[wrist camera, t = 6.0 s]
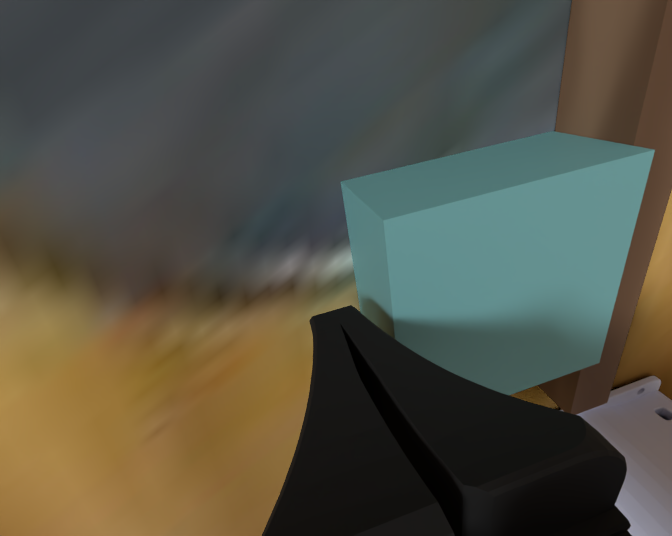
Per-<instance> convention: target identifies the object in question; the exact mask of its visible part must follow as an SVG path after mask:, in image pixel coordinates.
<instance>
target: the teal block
mask: <svg viewBox="0 0 672 536" xmlns="http://www.w3.org/2000/svg"><path fill="white" fill-rule="evenodd" d="M654 152H655V150H654V149H648V148H643V147H637V146H632V145H626V144H621V143H615V142H610V141H604V140H599V139H593V138H588V137H582V136H577V135H572V134H566V133H561V132H555V131H551V132H547V133H543V134H539V135H535V136H530V137H526V138H522V139H518V140H514V141H509V142H505V143H501V144H497V145H493V146H488V147H484V148H480V149H476V150H472V151H467V152H463V153H459V154H455V155H451V156H446V157H442V158H438V159H434V160H430V161H425V162H421V163H417V164H413V165H409V166H404V167H400V168H396V169H392V170H388V171H383V172H379V173H375V174H371V175H367V176H362V177H358V178H354V179H350V180H346V181H341V186H342V193H343V200H344V206H345V213H346V219H347V226H348V233H349V239H350V246H351V252H352V259H353V266H354V272H355V279H356V285H357V292H358V299H359V305H360V312H361V313H362V314H363V315H364V316H365V317H366V318H368V319H369V320H370V321H371V322H373V323H374V324H375V325H376V326H378V327H379V328H380V329H382V330H383V331H384V332H386V333H387V334H389V335H390V336H391V337H393V338H394V339H396V340H397V341H398V342H400V343H401V344H403V345H404V346H406V347H407V348H409V349H411V350H412V351H414V352H415V353H417V354H419V355H420V356H422V357H424V358H425V359H427V360H429V361H431V362H432V363H434V364H436V365H438V366H440V367H442V368H444V369H446V370H448V371H450V372H452V373H454V374H456V375H458V376H460V377H463V378H465V379H467V380H470V381H472V382H475V383H477V384H479V385H482V386H484V387H487V388H489V389H492V390H495V391H497V392H500V393H503V394H506V395H511V394H514V393H517V392H520V391H522V390H525V389H528V388H531V387H534V386H536V385H539V384H542V383H545V382H547V381H550V380H553V379H556V378H559V377H561V376H564V375H567V374H570V373H573V372H575V371H578V370H581V369H584V368H586V367H589V366H592V365H595V364H598V363H599V362H600V358H601V354H602V351H603V347H604V343H605V339H606V335H607V331H608V328H609V324H610V320H611V316H612V312H613V309H614V305H615V301H616V297H617V293H618V289H619V286H620V282H621V278H622V274H623V270H624V267H625V263H626V259H627V255H628V251H629V248H630V244H631V240H632V236H633V232H634V228H635V225H636V221H637V217H638V213H639V209H640V206H641V202H642V198H643V194H644V190H645V186H646V183H647V179H648V175H649V171H650V167H651V164H652V160H653V156H654Z"/></svg>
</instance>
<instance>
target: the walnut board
mask: <svg viewBox="0 0 672 536" xmlns="http://www.w3.org/2000/svg"><path fill="white" fill-rule="evenodd" d="M555 132H561V133H566V134H572V135H577V136H582V137H588V138H593V139H599V140H604V141H610V142H615V143H621V144H626V145H632V146H637V147H643V148H648V149H654V150H655V152H654V156H653V160H652V164H651V167H650V171H649V175H648V179H647V183H646V186H645V190H644V194H643V198H642V202H641V206H640V209H639V213H638V217H637V221H636V225H635V228H634V232H633V236H632V240H631V244H630V248H629V251H628V255H627V259H626V263H625V267H624V270H623V274H622V278H621V282H620V286H619V289H618V293H617V297H616V301H615V305H614V309H613V312H612V316H611V320H610V324H609V328H608V331H607V335H606V339H605V343H604V347H603V351H602V354H601V358H600V362H599V363H598V364H595V365H592V366H589V367H586V368H584V369H581V370H578V371H575V372H573V373H570V374H567V375H564V376H561V377H559V378H556V379H553V380H550V381H547V382H545V383H542V384H539V385H538V386H539V387H540V388H541V389H542V390H543V391H544V392H545V393H546V394H547V395H548V396H549V397H550V398H551V399H552V400H553V401H554V402H555V403H556V404H557V405H558V406H559V407H560V408H561V409H562V410H563V411H564V412H567V413H571V414H575V415H577V414H579V413H582V412H584V411H587V410H590V409H592V408H595V407H598V406H600V405H603V404H605V403H607V402H608V399H609V395H610V392H611V389H612V385H613V382H614V379H615V375H616V372H617V369H618V366H619V362H620V359H621V356H622V352H623V349H624V346H625V342H626V339H627V336H628V332H629V329H630V326H631V322H632V319H633V316H634V312H635V309H636V306H637V303H638V299H639V296H640V293H641V289H642V286H643V283H644V279H645V276H646V273H647V269H648V266H649V263H650V259H651V256H652V253H653V250H654V246H655V243H656V240H657V236H658V233H659V230H660V226H661V223H662V220H663V216H664V213H665V210H666V206H667V203H668V200H669V196H670V193H671V190H672V0H572V4H571V12H570V20H569V27H568V35H567V43H566V50H565V58H564V65H563V73H562V81H561V88H560V96H559V104H558V111H557V119H556V126H555Z"/></svg>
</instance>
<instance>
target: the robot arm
mask: <svg viewBox="0 0 672 536" xmlns="http://www.w3.org/2000/svg"><path fill="white" fill-rule="evenodd" d="M310 324H311V329H312V333H313V368H312V377H311V385H310V392H309V398H308V403H307V408H306V413H305V417H304V422H303V425H302V429H301V433H300V437H299V440H298V444H297V447H296V450H295V454H294V457H293V459H292V462H291V465H290V468H289V471H288V473H287V476H286V479H285V482H284V485H283V487H282V490H281V492H280V495H279V497H278V500H277V502H276V504H275V507H274V509H273V511H272V513H271V516H270V518H269V520H268V523H267V525H266V527H265V530H264V532H263V534H262V536H672V400H671V399H669V398H668V397H666V396H665V395H664V394H662V393H661V392H660V391H658V390H659V387H660V385H661V380H660V379H659V378H657V377H656V376H649V377H647V378H644V379H641V380H639V381H636V382H633V383H631V384H628V385H625V386H623V387H620V388H617V389H615V390H612V391H611V392H610V395H609V399H608V402H607V403H605V404H603V405H600V406H598V407H595V408H592V409H590V410H587V411H584V412H582V413H579V414H577V415H575V414H571V413H567V412H564V411H563V410H556V409H552V408H548V407H545V406H541V405H537V404H533V403H530V402H527V401H524V400H521V399H518V398H515V397H512V396H509V395H506V394H503V393H500V392H497V391H495V390H492V389H489V388H487V387H484V386H482V385H479V384H477V383H475V382H472V381H470V380H467V379H465V378H463V377H460V376H458V375H456V374H454V373H452V372H450V371H448V370H446V369H444V368H442V367H440V366H438V365H436V364H434V363H432V362H431V361H429V360H427V359H425V358H424V357H422V356H420V355H419V354H417V353H415V352H414V351H412V350H411V349H409V348H407V347H406V346H404V345H403V344H401V343H400V342H398V341H397V340H396V339H394V338H393V337H391V336H390V335H389V334H387V333H386V332H384V331H383V330H382V329H380V328H379V327H378V326H376V325H375V324H374V323H373V322H371V321H370V320H369V319H368V318H366V317H365V316H364V315H363V314H362V313H360V312H359V311H358V310H357V309H356V308H355V307H353V306H351V305H350V306H347V307H343V308H340V309H337V310H333V311H330V312H326V313H323V314H319V315H316V316H313V317H312V318H311V319H310Z"/></svg>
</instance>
